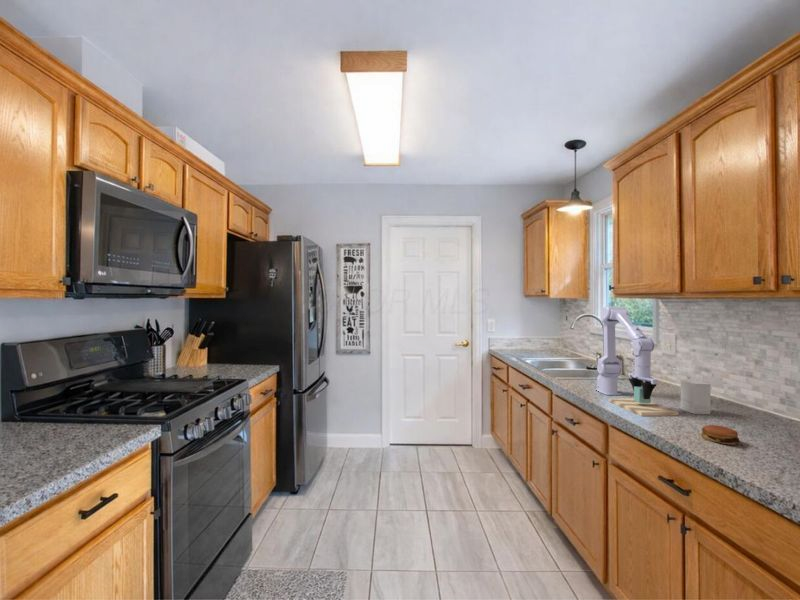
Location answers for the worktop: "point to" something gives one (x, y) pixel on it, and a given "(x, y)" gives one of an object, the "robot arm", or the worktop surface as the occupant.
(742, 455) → the worktop surface
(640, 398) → the teal block
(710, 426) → the burger
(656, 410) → the birch board
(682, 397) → the supplement box
